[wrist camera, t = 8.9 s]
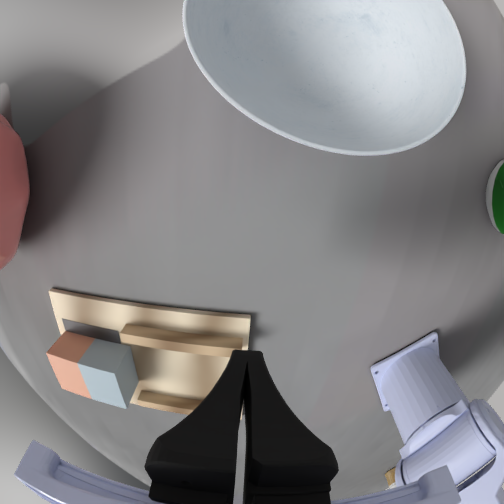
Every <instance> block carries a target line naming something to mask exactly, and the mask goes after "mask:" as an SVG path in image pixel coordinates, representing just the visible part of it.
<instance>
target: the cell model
mask: <svg viewBox="0 0 504 504" xmlns="http://www.w3.org/2000/svg"><path fill="white" fill-rule="evenodd" d="M29 195H30V184H29V173H28V167H27V161H26V154H25V150H24V146H23V143H22V140H21V138H20V136H19V134H18V133H17V132H16V131H15V130H14V129H13V128H12V126H11V124H10V123H9V121H8V120H7V119H6V118H5V117H4V116H2V115H1V114H0V270H1V269H3V268H4V267H5V266H6V265H7V264H8V263H10V261H11V260H12V259H13V257H14V256H15V254H16V252H17V249H18V246H19V241H20V236H21V232H22V227H23V222H24V218H25V213H26V209H27V205H28V201H29Z"/></svg>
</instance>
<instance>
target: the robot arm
mask: <svg viewBox="0 0 504 504" xmlns="http://www.w3.org/2000/svg"><path fill="white" fill-rule="evenodd" d="M370 369H371V373H372V376H373V378H374V381H375V384H376V387H377V390H378V394H379V397H380V400H381V403H382V406H383V409H384V411H388V410H391V413H392V415H393V417H394V420H395V422H396V425H397V427H398V430H399V432H400V434H401V437H402V439H403V442H404V444H405V446H404V447H403V448H401V449H400V450H399V451H400V454H401V457H402V458H401V459H400V460H399V461H398V463H397V465H396V469H395V483H396V486H397V487H395V488H392V489H388V490H384V491H381V492H376V493H372V494H368V495H363V496H358V497H353V498H348V499H342V500H335V501H330V495H329V492H330V491H331V486H330V482H331V480H332V479H333V478H334V477H335V475H336V474H337V473H338V471H339V469H338V463H337V460H336V458H335V455H334V453H333V451H332V449H331V448H330V447H329V446H328V445H326V444H325V443H324V442H322V441H321V440H320V439H319V438H318V437H316V436H315V435H314V434H313V433H312V432H311V431H310V430H309V429H308V428H307V427H306V426H305V425H304V424H303V423H302V422H301V421H300V420H299V419H298V418H297V417H296V415H295V414H294V413H293V412H292V410H291V409H290V408H289V406H288V405H287V404H286V402H285V401H284V399H283V398H282V396H281V395H280V393H279V391H278V390H277V388H276V386H275V384H274V382H273V380H272V378H271V376H270V374H269V371H268V369H267V366H266V364H265V361H264V357H263V353H262V352H261V351H251V350H237V349H235V350H233V351H232V354H231V357H230V359H229V362H228V364H227V366H226V368H225V370H224V371H223V373H222V375H221V377H220V378H219V380H218V381H217V383H216V384H215V386H214V387H213V388H212V390H211V391H210V393H209V394H208V395H207V396H206V398H205V399H204V400H203V401H202V402H201V403H200V404H199V405H198V406H197V407H196V408H195V409H194V410H193V411H192V412H191V413H190V414H189V415H188V416H187V417H186V418H185V419H183V420H182V421H181V422H180V423H178V424H177V425H176V426H175V427H173V428H172V429H170V430H169V431H167V432H166V433H164V434H163V435H161V436H159V437H158V438H157V439H156V441H155V442H154V444H153V446H152V447H151V449H150V451H149V453H148V456H147V460H146V463H145V470H146V471H147V473H148V475H149V477H150V478H151V480H152V483H151V487H150V491H147V490H143V489H139V488H136V487H132V486H129V485H125V484H122V483H119V482H116V481H113V480H110V479H107V478H104V477H102V476H99V475H96V474H94V473H91V472H89V471H86V470H84V469H81V468H79V467H77V466H75V465H72V464H70V463H68V462H65V461H64V460H62V459H60V457H59V456H58V454H56V453H55V452H54V451H53V450H51V449H50V448H48V447H46V446H44V445H42V444H41V443H39V442H37V441H35V440H32V442H31V444H30V446H29V447H28V449H27V451H26V453H25V455H24V456H23V458H22V460H21V462H20V464H19V466H18V468H17V470H16V471H15V473H14V475H15V477H16V478H18V479H19V480H20V481H21V482H22V483H23V484H25V485H26V486H27V487H28V488H30V489H31V490H32V491H33V492H35V493H36V494H37V495H39V496H40V497H41V498H43V499H45V500H47V501H48V502H50V503H52V504H233V498H234V487H235V475H236V460H237V442H238V429H239V424H240V418H241V412H242V406H243V400H244V407H245V424H246V455H245V474H244V492H243V504H504V490H503V488H502V485H503V483H504V424H503V422H502V420H501V419H500V417H499V416H498V415H497V413H496V412H495V411H494V409H493V408H492V407H491V406H490V405H489V404H488V403H487V402H486V401H485V400H483V399H474V400H473V401H472V402H471V403H470V402H469V401H468V399H467V398H466V396H465V395H464V393H463V392H462V390H461V389H460V387H459V386H458V384H457V383H456V381H455V380H454V378H453V377H452V376H451V374H450V373H449V371H448V370H447V368H446V367H445V366H444V364H443V363H442V361H441V360H440V359H439V344H438V334H437V333H436V332H432V333H431V334H429V335H427V336H426V337H424V338H422V339H421V340H419V341H417V342H415V343H414V344H412V345H410V346H408V347H407V348H405V349H403V350H401V351H399V352H398V353H396V354H394V355H392V356H390V357H388V358H386V359H384V360H382V361H380V362H378V363H376V364H374V365H373V366H372V367H371V368H370ZM495 456H496V457H495ZM494 457H495V458H494ZM492 458H494V460H493V461H491V462H490V463H489V464H488V465H487V466H485V467H484V468H483V469H481V470H480V471H479V472H478V473H476V474H475V475H474V476H472V477H471V478H469V479H468V480H467V481H465V482H464V483H462V484H461V485H459V486H458V487H456V485H458V484H459V483H461V482H462V481H464V480H465V479H466V478H468V477H469V476H471V475H472V474H474V473H475V472H476V471H477V470H479V469H480V468H481V467H483V466H484V465H485V464H486V463H488V462H489V461H490V460H491V459H492Z"/></svg>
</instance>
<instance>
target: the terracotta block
mask: <svg viewBox="0 0 504 504" xmlns="http://www.w3.org/2000/svg"><path fill="white" fill-rule="evenodd" d="M94 340H95V338H92V337H87V336H83V335H79V334H76V333H72V332H68V331H65V332H64V333H63V334H62V335H61V336H60V338H59V339H58V340H57V341H56V342H55V343H54V344H53V346H52V347H51V348H50V349H49V350H48V351H47V353H46V354H47V356H48V358H49V361H50V363H51V365H52V368H53V370H54V372H55V374H56V377H57V379H58V381H59V383H60V385H61V387H62V389H65V390H68V391H70V392H73V393H76V394H79V395H82V396H85V397H88V398H91V395H90V393H89V391H88V389H87V386H86V384H85V382H84V379H83V377H82V374H81V372H80V369H79V367H78V364H77V363H78V361H79V360H80V359H81V357H82V356H83V355H84V353H85V352H86V350H87V349H88V348H89V346H90V345H91V344H92V342H93V341H94ZM91 399H92V398H91Z"/></svg>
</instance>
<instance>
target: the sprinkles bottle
mask: <svg viewBox="0 0 504 504" xmlns="http://www.w3.org/2000/svg"><path fill="white" fill-rule="evenodd" d="M395 469H396V467H395V468H393V469H391V470H389V471H388V472H387V473H386V474H385V477H386V478H387V481H388V485H389V489H392V488H395V487H397V486H396V483H395Z"/></svg>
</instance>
